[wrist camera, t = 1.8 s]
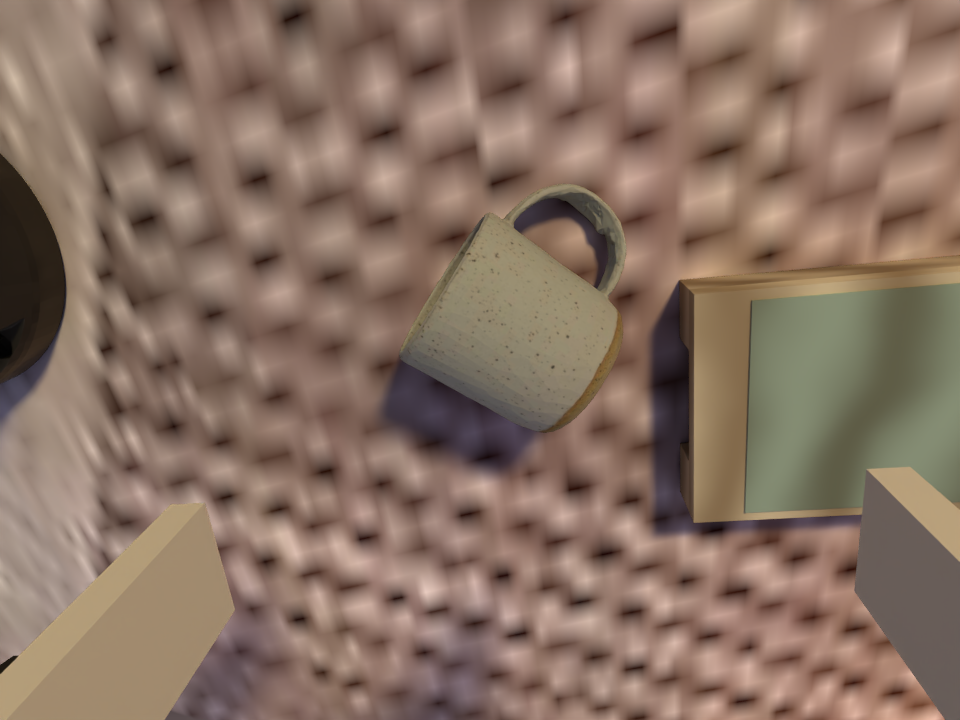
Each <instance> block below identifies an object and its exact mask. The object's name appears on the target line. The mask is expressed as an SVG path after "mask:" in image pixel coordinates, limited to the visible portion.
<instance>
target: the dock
mask: <svg viewBox="0 0 960 720" xmlns="http://www.w3.org/2000/svg"><path fill="white" fill-rule="evenodd" d="M679 306H680V339H681V340H682V342H683V343H684V344H685V346H686V347H687V348H688V350H689V443H680V492H681V494H682V497H683V499H684V501H685V504H686V506H687V508H688V511H689V513H690V515H691V518H692V520H693V522H694V523H701V522H721V521H741V520H761V519H782V518H802V517H822V516H842V515H862V509H863V498H864V488H865V478H866V469H876V468H896V467H911V468H912V469H913V470H914V471H916V472H917V473H918V474H919V475H920V476H921V477H922V478H924V479H925V480H926V481H927V482H928V483H929V484H931V485H932V486H933V487H934V488H935V489H936V490H937V491H939V492H940V493H941V494H942V495H943V496H944V497H945V498H947V499H948V500H949V501H950V502H951V503H952V504H953V505H955V506H956V507H957V508H958V509H959V510H960V255H959V256H947V257H936V258H925V259H913V260H902V261H891V262H880V263H868V264H857V265H846V266H834V267H823V268H812V269H800V270H789V271H778V272H766V273H755V274H744V275H732V276H721V277H710V278H698V279H687V280H679Z"/></svg>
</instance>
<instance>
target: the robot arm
mask: <svg viewBox="0 0 960 720" xmlns="http://www.w3.org/2000/svg"><path fill="white" fill-rule="evenodd" d="M64 295H65V283H64V271H63V264H62V259H61V255H60V251H59V247H58V244H57V240H56V238H55V235H54V232H53V229H52V227H51V225H50V222H49V220H48V218H47V216H46V214H45V212H44V210H43V208H42V206H41V205H40V203H39V201H38V200H37V198H36V196H35V195H34V193H33V192H32V190H31V189H30V187H29V186H28V185H27V183H26V182H25V181H24V179H23V178H22V177H21V176H20V174H19V173H18V172H17V171H16V170H15V169H14V167H13V166H12V165H11V164H10V163H9V162H8V161H7V160H6V159H5V158H4V157H3V156H2V155H1V154H0V384H1V383H3V382H5V381H7V380H9V379H11V378H13V377H15V376H17V375H19V374H21V373H22V372H24V371H26V370H27V369H28V368H29V367H31V366H32V365H33V364H34V363H35V362H36V361H37V360H38V359H39V358H40V357H41V356H42V355H43V354H44V352H45V351H46V350H47V348H48V347H49V345H50V343H51V342H52V340H53V338H54V336H55V334H56V332H57V329H58V326H59V323H60V320H61V316H62V311H63V305H64ZM855 593H856V594H857V595H858V597H859V598H860V600H861V601H862V602H863V604H864V605H865V607H866V608H867V610H868V611H869V612H870V614H871V615H872V617H873V618H874V619H875V621H876V622H877V624H878V625H879V626H880V628H881V629H882V631H883V632H884V634H885V635H886V636H887V638H888V639H889V641H890V642H891V643H892V645H893V646H894V648H895V649H896V651H897V652H898V653H899V655H900V656H901V658H902V659H903V660H904V662H905V663H906V665H907V666H908V668H909V669H910V670H911V672H912V673H913V675H914V676H915V677H916V679H917V680H918V682H919V683H920V685H921V686H922V687H923V689H924V690H925V692H926V693H927V694H928V696H929V697H930V699H931V700H932V701H933V703H934V704H935V706H936V707H937V709H938V710H939V711H940V713H941V714H942V716H943V717H944V718H945V720H960V510H959V509H958V508H957V507H956V506H955V505H953V504H952V503H951V502H950V501H949V500H948V499H947V498H945V497H944V496H943V495H942V494H941V493H940V492H939V491H937V490H936V489H935V488H934V487H933V486H932V485H931V484H929V483H928V482H927V481H926V480H925V479H924V478H922V477H921V476H920V475H919V474H918V473H917V472H916V471H914V470H913V469H912V468H911V467H896V468H876V469H866V478H865V488H864V498H863V509H862V519H861V529H860V539H859V550H858V560H857V570H856V580H855ZM234 611H235V608H234V605H233V601H232V597H231V594H230V590H229V587H228V583H227V580H226V576H225V573H224V569H223V565H222V562H221V558H220V555H219V551H218V548H217V544H216V540H215V537H214V533H213V530H212V526H211V523H210V519H209V516H208V512H207V508H206V505H205V503H193V504H174V505H170V506H169V507H168V508H167V509H166V510H165V511H164V512H163V513H162V514H161V515H160V516H159V517H158V518H157V519H156V520H155V521H154V522H153V523H152V524H151V525H150V526H149V527H148V528H147V529H146V530H145V531H144V532H143V533H142V534H141V535H140V536H139V537H138V538H137V539H136V540H135V541H134V542H133V543H132V544H131V545H130V546H129V547H128V548H127V549H126V550H125V551H124V552H123V553H122V554H121V555H120V556H119V557H118V558H117V559H116V560H115V561H114V562H113V563H112V564H111V565H110V566H109V567H108V568H107V569H106V570H105V571H104V572H103V573H102V574H101V575H100V576H99V577H98V578H97V579H96V580H95V581H94V582H93V583H92V584H91V585H90V586H89V587H88V588H87V589H86V590H85V591H84V592H83V593H82V594H81V595H80V596H79V597H78V598H77V599H76V600H75V601H74V602H73V603H72V604H71V605H70V606H69V607H68V608H67V609H66V610H65V611H64V612H63V613H62V614H61V615H60V616H59V617H58V618H57V619H56V620H55V621H53V622H52V623H51V624H50V625H49V626H48V627H47V628H46V629H45V630H44V631H43V632H42V633H41V634H40V635H39V636H38V637H37V638H36V639H35V640H34V641H33V642H32V643H31V644H30V645H29V646H28V647H27V648H26V649H25V650H24V651H23V652H22V653H21V654H20V655H19V656H13V657H11V658H10V659H8V660H7V661H5V662H4V663H2V664H1V665H0V720H165V718H166V717H167V715H168V714H169V712H170V710H171V709H172V707H173V706H174V704H175V703H176V701H177V700H178V698H179V696H180V695H181V693H182V692H183V690H184V689H185V687H186V686H187V684H188V682H189V681H190V679H191V678H192V676H193V675H194V673H195V672H196V670H197V668H198V667H199V665H200V664H201V662H202V661H203V659H204V658H205V656H206V654H207V653H208V651H209V650H210V648H211V647H212V645H213V643H214V642H215V640H216V639H217V637H218V636H219V634H220V633H221V631H222V629H223V628H224V626H225V625H226V623H227V622H228V620H229V619H230V617H231V615H232V614H233V612H234Z"/></svg>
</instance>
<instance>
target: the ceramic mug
mask: <svg viewBox="0 0 960 720" xmlns="http://www.w3.org/2000/svg"><path fill="white" fill-rule="evenodd" d="M549 198H559V199H560V200H563V201H567V202H568V203H570V204H571V205H572V206H573V207H575V208H576V209H577V210H578V211H579V212H580V213H582V214H583V215H584V216H586V217H587V218H588V219H589V221H590V222H591V223H592V224H593V225H594V227H595V229H596V232H598V233H600V234H604V235H605V237H606V240H607V246H608V262H607V265H606V268H605V273H604V275H603V277H602V280H601V282H600V284H599V286H598V288H597V289H596V288H595V287H593V286H592V285H591V284H589V283H588V282H586V281H585V280H584V279H582V278H581V277H579V276H578V275H576V274H575V273H573V272H572V271H570V270H569V269H567V268H566V267H564V266H563V265H561V264H560V263H559V262H557V261H556V260H555V259H554V258H552V257H551V256H550V255H548V254H547V253H546V252H545V251H543V250H542V249H541V248H540V247H538V246H537V245H536V244H534V243H533V242H531V241H530V240H529V239H527V238H526V237H524V236H523V235H522V234H520V233H519V232H518V231H517V230H515V229H514V222H515V220H516V219H517V217H518V216H519V215H520V214H521V213H523V212H524V211H525V210H526V209H527V208H529V207H530V206H532V205H534V204H535V203H537V202H539V201H542V200H545V199H549ZM625 257H626V242H625V236H624V232H623V229H622V226H621V223H620V221H619V220H618V218H617V217H616V215H615V213H614V212H613V211H612V209H611V208H610V207H609V206H608V205H607V204H606V203H605V202H604V201H603V200H602V199H600V198H599V197H598V196H597V195H596V194H594V193H593V192H591V191H589V190H587V189H585V188H583V187H581V186H578V185H572V184H558V185H553V186H549V187H546V188H543V189H541V190H538V191H536V192H535V193H533V194H531V195H529V196H528V197H527V198H525V199H524V200H523V201H521V202H520V203H519V204H518V205H517V206H516V207H515V208H514V209H513V210H512V211H511V212H510V213H509V214H508V215H507V216H506V217H505V218H504V219H500V218H499V217H498V216H496V215H495V214H493V213H487V214H486V215H484V217H483V218H482V219H481V220H480V221H479V223H478V224H477V225H476V226H475V228H474V229H473V231H472V232H471V233H470V235H469V236H468V238H467V239H466V241H465V242H464V243H463V245H462V247H461V249H460V250H459V252H458V253H457V255H456V256H455V257H454V259H453V260H452V261H451V263H450V265H449V266H448V268H447V269H446V271H445V273H444V274H443V276H442V277H441V279H440V280H439V282H438V283H437V285H436V287H435V289H434V290H433V292H432V293H431V295H430V297H429V298H428V300H427V302H426V303H425V305H424V307H423V308H422V310H421V312H420V313H419V315H418V317H417V318H416V320H415V321H414V323H413V325H412V328H411V330H410V331H409V333H408V334H407V337H406V339H405V341H404V343H403V345H402V348H401V350H400V354H399V357H400V359H401V360H402V361H403V362H405V363H407V364H408V365H410V366H412V367H414V368H416V369H418V370H420V371H422V372H423V373H425V374H427V375H429V376H431V377H433V378H435V379H436V380H438V381H440V382H442V383H443V384H445V385H447V386H449V387H450V388H452V389H454V390H456V391H458V392H459V393H461V394H463V395H465V396H466V397H468V398H470V399H472V400H474V401H476V402H478V403H480V404H481V405H483V406H485V407H487V408H489V409H491V410H492V411H494V412H496V413H497V414H499V415H501V416H502V417H504V418H506V419H508V420H509V421H511V422H513V423H515V424H517V425H520V426H522V427H525V428H528V429H531V430H534V431H538V432H543V433H547V432H553V431H555V430H558V429H560V428H562V427H564V426H565V425H567V424H568V423H570V422H571V421H572V420H573V419H575V418H576V417H577V416H578V415H579V414H580V413H581V412H582V411H583V410H584V409H585V408H586V406H587V405H588V404H589V403H590V402H591V400H592V399H593V398H594V396H595V395H596V393H597V392H598V391H599V389H600V388H601V386H602V384H603V383H604V381H605V379H606V378H607V376H608V374H609V373H610V371H611V369H612V367H613V364H614V362H615V360H616V357H617V355H618V353H619V351H620V347H621V343H622V338H623V325H622V319H621V315H620V313H619V311H618V310H617V309H616V308H615V307H614V306H613V305H612V304H611V302H610V301H609V300H608V297H609V295H610V293H611V292H612V291H613V290H614V288H615V286H616V284H617V283H618V281H619V278H620V275H621V273H622V271H623V268H624V262H625Z"/></svg>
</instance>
